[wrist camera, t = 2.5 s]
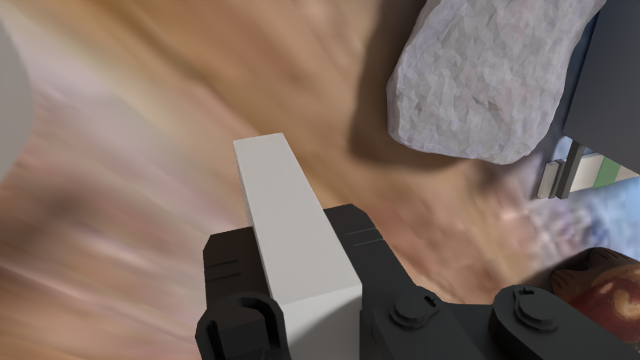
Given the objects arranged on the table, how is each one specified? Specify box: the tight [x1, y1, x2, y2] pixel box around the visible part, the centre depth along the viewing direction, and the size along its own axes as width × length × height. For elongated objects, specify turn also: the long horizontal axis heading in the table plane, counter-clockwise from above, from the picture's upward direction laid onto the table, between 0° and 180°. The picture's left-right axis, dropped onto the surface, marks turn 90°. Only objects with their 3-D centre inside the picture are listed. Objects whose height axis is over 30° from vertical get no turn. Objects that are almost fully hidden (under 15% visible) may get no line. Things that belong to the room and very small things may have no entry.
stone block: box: [386, 0, 606, 165], centre depth 22 cm, size 12×5×10 cm
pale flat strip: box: [537, 153, 640, 199], centre depth 32 cm, size 3×10×1 cm, turn 93°
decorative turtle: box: [551, 247, 640, 352], centre depth 36 cm, size 10×15×8 cm, turn 125°
